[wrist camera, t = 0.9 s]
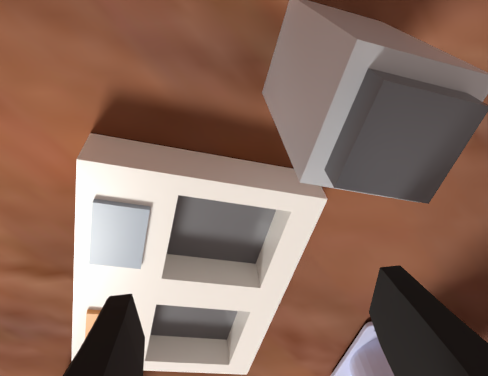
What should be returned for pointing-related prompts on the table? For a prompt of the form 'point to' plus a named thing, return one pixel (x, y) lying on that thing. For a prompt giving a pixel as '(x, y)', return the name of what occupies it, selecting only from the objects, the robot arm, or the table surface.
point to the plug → (369, 103)
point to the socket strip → (187, 248)
